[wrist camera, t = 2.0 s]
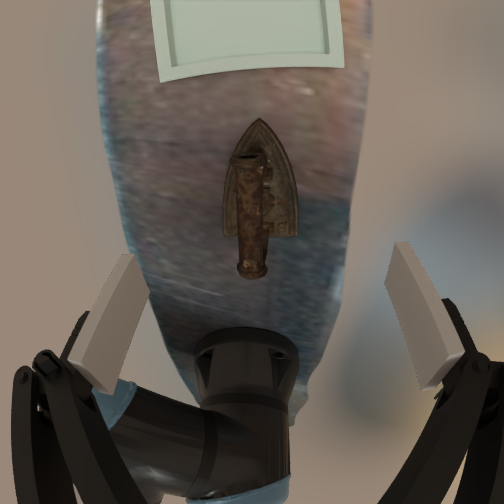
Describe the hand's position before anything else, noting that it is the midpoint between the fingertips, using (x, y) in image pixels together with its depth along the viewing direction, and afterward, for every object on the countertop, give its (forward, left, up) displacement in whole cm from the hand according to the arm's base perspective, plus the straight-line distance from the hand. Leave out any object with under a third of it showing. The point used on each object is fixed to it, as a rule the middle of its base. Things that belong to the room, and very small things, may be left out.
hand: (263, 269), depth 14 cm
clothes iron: (0, 0, -13) cm, 13 cm away
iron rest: (+18, 0, -12) cm, 22 cm away
